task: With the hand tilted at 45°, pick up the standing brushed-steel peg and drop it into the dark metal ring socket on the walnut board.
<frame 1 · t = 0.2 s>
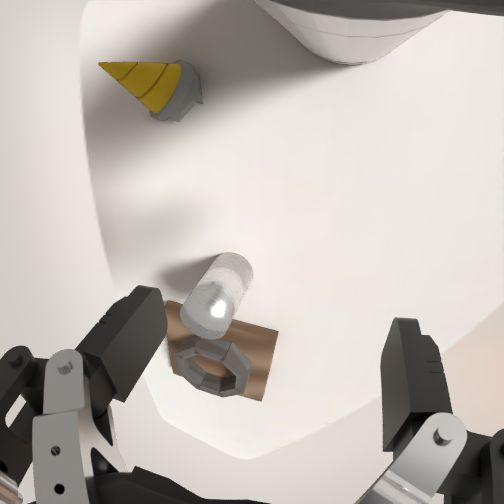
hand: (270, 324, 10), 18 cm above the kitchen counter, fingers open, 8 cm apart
steel peg: (232, 270, 33), on the kitchen counter
drill bit: (174, 86, 25), on the kitchen counter
socket board: (220, 352, 41), on the kitchen counter
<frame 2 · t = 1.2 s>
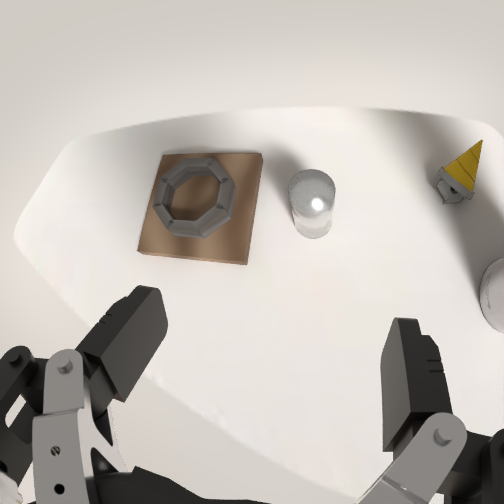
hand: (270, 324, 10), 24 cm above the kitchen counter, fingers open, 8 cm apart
steel peg: (313, 220, 36), on the kitchen counter
drill bit: (449, 184, 34), on the kitchen counter
socket board: (201, 206, 39), on the kitchen counter
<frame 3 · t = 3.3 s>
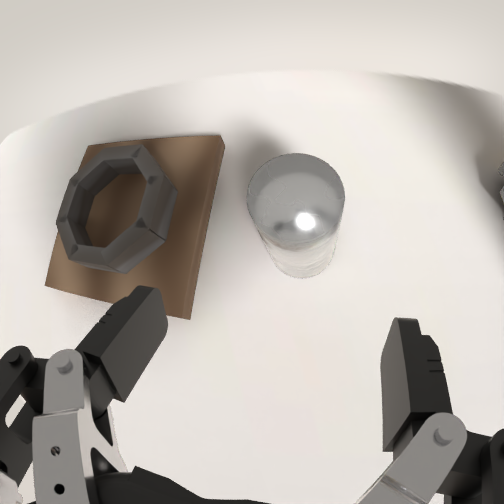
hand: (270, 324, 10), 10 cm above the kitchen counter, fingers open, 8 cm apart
steel peg: (302, 246, 21), on the kitchen counter
socket board: (130, 219, 25), on the kitchen counter
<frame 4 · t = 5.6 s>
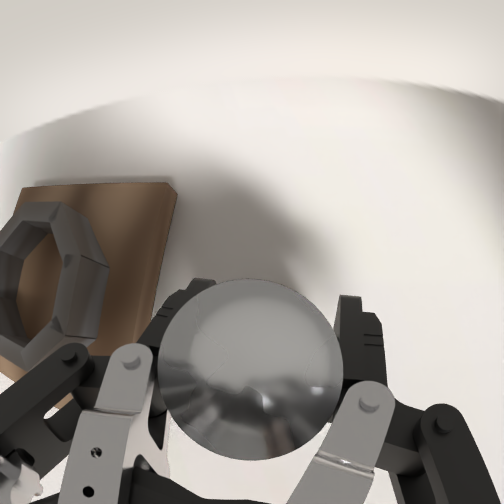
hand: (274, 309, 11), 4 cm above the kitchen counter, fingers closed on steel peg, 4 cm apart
steel peg: (278, 356, 14), on the kitchen counter, touching gripper
socket board: (64, 293, 18), on the kitchen counter
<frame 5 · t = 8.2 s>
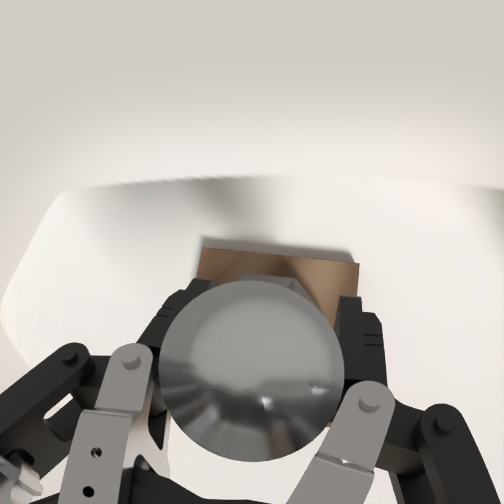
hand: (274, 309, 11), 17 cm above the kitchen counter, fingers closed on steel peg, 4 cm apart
steel peg: (279, 357, 14), point 12 cm above the kitchen counter, touching gripper
socket board: (268, 336, 27), on the kitchen counter
when the fingers open (7 cm above the kitchen counter, at t = 11.0 s): steel peg drops 1 cm, resting on socket board.
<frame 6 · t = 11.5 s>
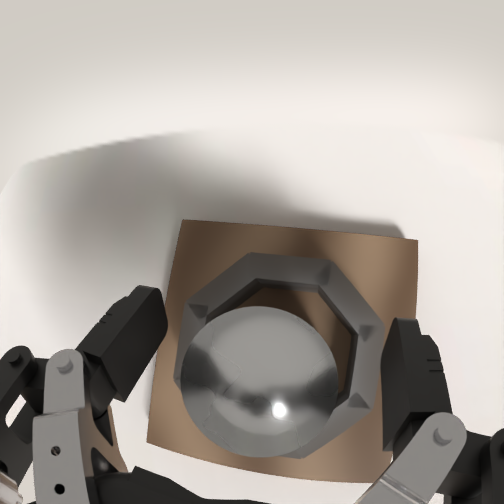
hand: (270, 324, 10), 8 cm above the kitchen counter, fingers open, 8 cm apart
steel peg: (282, 359, 16), point 2 cm above the kitchen counter, touching socket board
socket board: (283, 354, 17), on the kitchen counter
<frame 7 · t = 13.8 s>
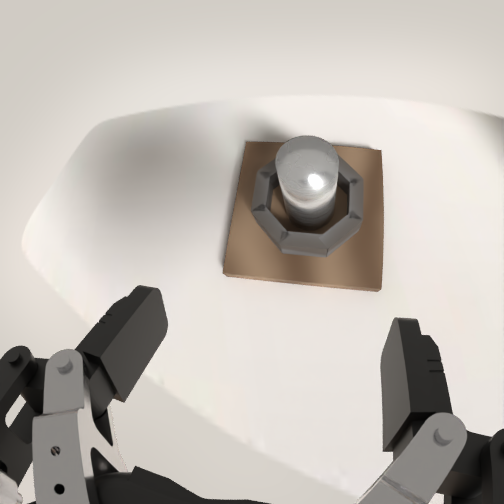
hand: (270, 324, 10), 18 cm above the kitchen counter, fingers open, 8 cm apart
steel peg: (309, 207, 28), point 2 cm above the kitchen counter, touching socket board
socket board: (309, 212, 30), on the kitchen counter
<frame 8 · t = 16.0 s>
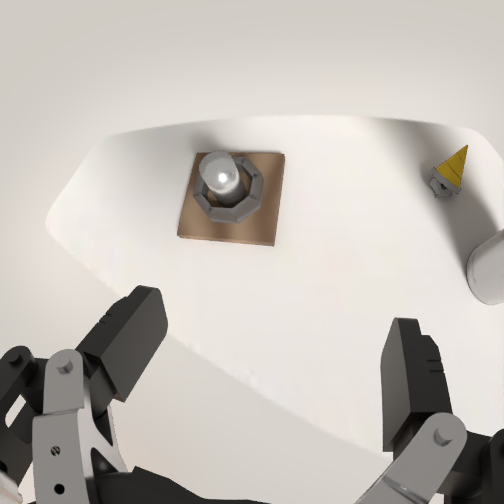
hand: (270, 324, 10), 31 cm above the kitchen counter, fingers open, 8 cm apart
steel peg: (231, 193, 45), point 2 cm above the kitchen counter, touching socket board
drill bit: (440, 182, 41), on the kitchen counter
socket board: (233, 197, 46), on the kitchen counter
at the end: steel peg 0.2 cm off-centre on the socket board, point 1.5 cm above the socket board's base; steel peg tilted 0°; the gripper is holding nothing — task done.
